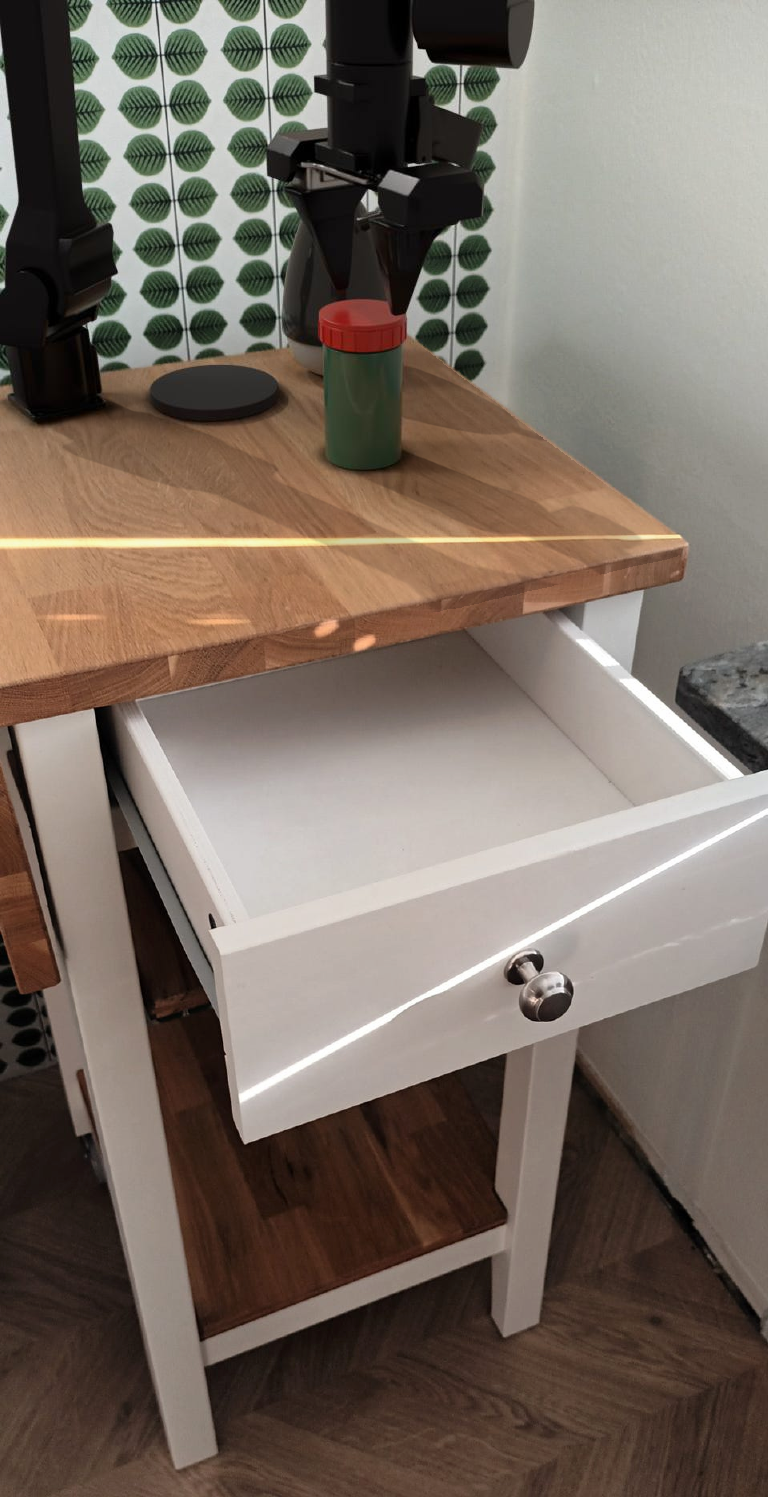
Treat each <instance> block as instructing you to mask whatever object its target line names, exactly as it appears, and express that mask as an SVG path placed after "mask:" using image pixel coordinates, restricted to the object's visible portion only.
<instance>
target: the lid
mask: <svg viewBox="0 0 768 1497" xmlns="http://www.w3.org/2000/svg"><path fill="white" fill-rule="evenodd" d="M318 334H319V339H320V340H321V342H322V343H323V344H325V345H326V346H329V347H331V348H334V349H338V350H343V351H350V352H376V351H383V350H388V349H392V348H395V347H397V346H399V345H401V344H403V345H404V343H405V342H406V340H407V339H408V335H407V334H408V317H407V312H406V313H405V314H403V315H399V316H394V315H392V314H391V311H390V308H389V305H388V302H386V301H380V300H369V299H356V300H345V301H339V302H335V303H331V304H329V305H326V306H324V307H323V308H321V310H320V311H319V321H318Z"/></svg>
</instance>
